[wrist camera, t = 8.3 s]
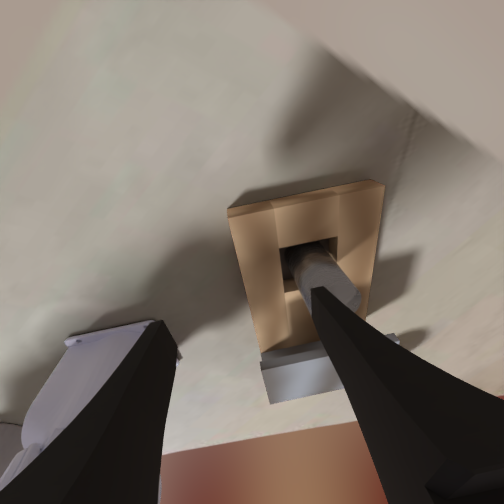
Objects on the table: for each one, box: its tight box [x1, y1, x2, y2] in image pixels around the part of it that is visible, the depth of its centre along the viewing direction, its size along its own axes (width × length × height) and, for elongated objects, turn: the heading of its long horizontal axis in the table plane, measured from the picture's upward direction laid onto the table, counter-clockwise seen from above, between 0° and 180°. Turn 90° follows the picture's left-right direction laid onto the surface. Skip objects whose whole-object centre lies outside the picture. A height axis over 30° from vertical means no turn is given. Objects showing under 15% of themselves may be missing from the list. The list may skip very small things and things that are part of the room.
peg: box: [285, 240, 361, 317], centre depth 18 cm, size 4×4×7 cm
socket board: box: [227, 179, 400, 404], centre depth 20 cm, size 12×18×7 cm, turn 10°
